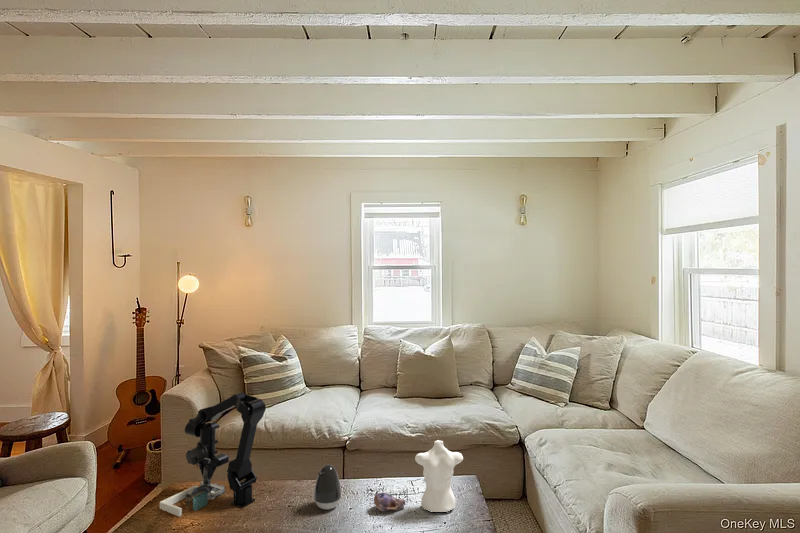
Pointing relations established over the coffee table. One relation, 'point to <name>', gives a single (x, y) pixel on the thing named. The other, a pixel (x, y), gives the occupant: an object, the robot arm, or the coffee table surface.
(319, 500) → the grey rounded egg shape
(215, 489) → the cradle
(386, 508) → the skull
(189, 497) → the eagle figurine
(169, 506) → the frame
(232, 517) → the coffee table surface
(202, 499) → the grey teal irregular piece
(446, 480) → the torso sculpture
